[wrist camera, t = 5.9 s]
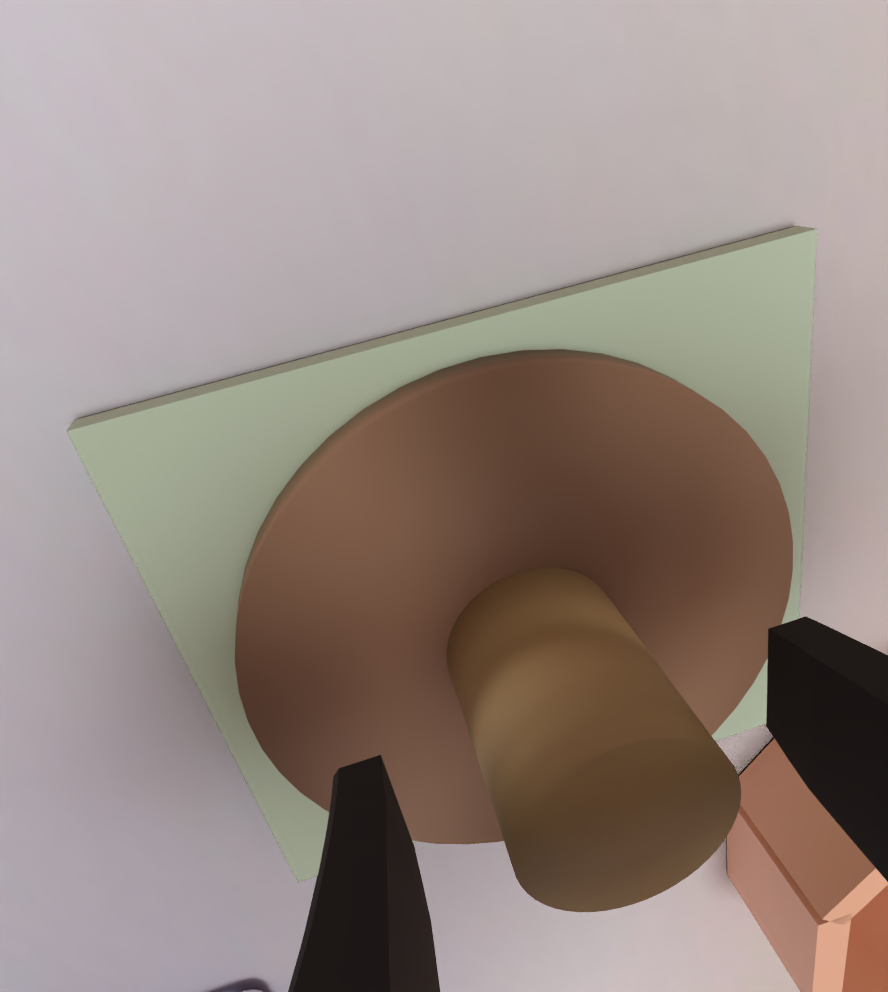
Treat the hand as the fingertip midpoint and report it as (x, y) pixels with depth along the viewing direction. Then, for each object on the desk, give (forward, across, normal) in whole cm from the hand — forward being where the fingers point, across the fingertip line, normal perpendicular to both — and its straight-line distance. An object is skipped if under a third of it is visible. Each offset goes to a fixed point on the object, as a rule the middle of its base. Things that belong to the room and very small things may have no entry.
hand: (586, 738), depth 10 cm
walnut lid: (+3, 0, 0) cm, 3 cm away
